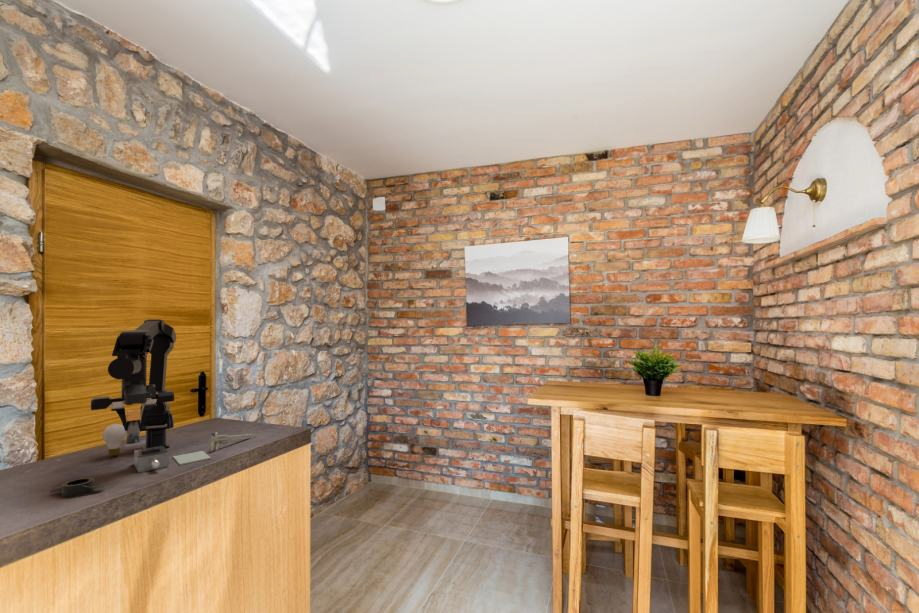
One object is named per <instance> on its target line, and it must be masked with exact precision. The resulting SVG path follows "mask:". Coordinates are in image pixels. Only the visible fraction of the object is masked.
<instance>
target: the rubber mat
mask: <svg viewBox="0 0 919 613" xmlns="http://www.w3.org/2000/svg"><path fill="white" fill-rule="evenodd" d="M172 459H174V461H175V462H176V463H177V464H178V465H179V466H182V465H183V466H184V465H187V464H193V463H197V462H198V463H199V462H203V461H208V460H209V461H210V460H211V459H212V457H211V456H210V455H208V454H207V453H206V452H205V451H204V450H200V451H195V452H189V453H184V454H179V455H173V456H172Z"/></svg>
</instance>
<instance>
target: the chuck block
mask: <svg viewBox="0 0 919 613" xmlns="http://www.w3.org/2000/svg"><path fill="white" fill-rule="evenodd" d="M169 456H170V452H169V451H168V450H167V448H164V446H158V447H152V448H146V449H144V448H142V449H135V450H133V465H134V467H135V469H136V470H137V473H144V472H149V471H155V470H158V469H164V468H169V464H170V457H169Z"/></svg>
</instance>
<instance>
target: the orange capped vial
mask: <svg viewBox="0 0 919 613" xmlns="http://www.w3.org/2000/svg"><path fill="white" fill-rule="evenodd" d="M140 420H141V408H139V409H129V410H128V409H127V410H126V421H127V433H126V444H127V445H132V444H137V443H140V442H141V440H140V439H141V432H140Z"/></svg>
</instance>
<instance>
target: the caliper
mask: <svg viewBox="0 0 919 613" xmlns="http://www.w3.org/2000/svg"><path fill="white" fill-rule="evenodd" d="M255 437H257V434H255V433H246V434H245V433H244V434H237V435H236V434H235V435H229V434H221V435H220V434H218V432H217V431H216V432H212V433H211V436H209V439H208V453H213V452H217V451H218V449H219V446H220V444H228V443H229V441H237V440H247V439H249V440H250V439H252V438H255Z"/></svg>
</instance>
